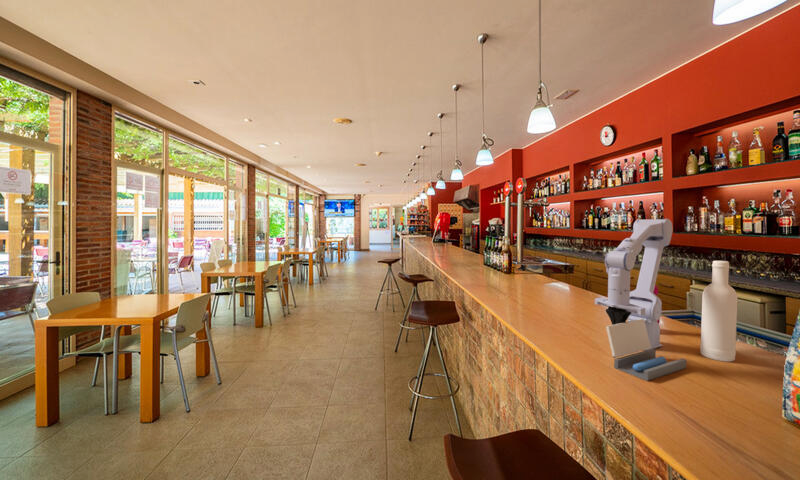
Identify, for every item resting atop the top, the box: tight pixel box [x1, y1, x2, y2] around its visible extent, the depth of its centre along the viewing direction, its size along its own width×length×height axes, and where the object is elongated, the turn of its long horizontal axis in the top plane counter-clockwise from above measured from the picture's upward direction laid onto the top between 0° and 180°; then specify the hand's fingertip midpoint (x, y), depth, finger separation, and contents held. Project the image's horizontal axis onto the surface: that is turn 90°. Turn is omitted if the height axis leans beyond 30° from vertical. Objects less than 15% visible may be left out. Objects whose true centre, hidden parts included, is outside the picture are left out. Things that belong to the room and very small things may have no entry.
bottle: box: [699, 260, 739, 363], centre depth 102 cm, size 8×8×30 cm
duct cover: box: [605, 319, 651, 359], centre depth 101 cm, size 17×9×1 cm
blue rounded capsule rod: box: [633, 355, 667, 371], centre depth 95 cm, size 13×2×2 cm, turn 113°
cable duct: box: [613, 348, 687, 382], centre depth 96 cm, size 18×9×3 cm, turn 113°
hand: (617, 331), depth 104 cm, fingers closed
